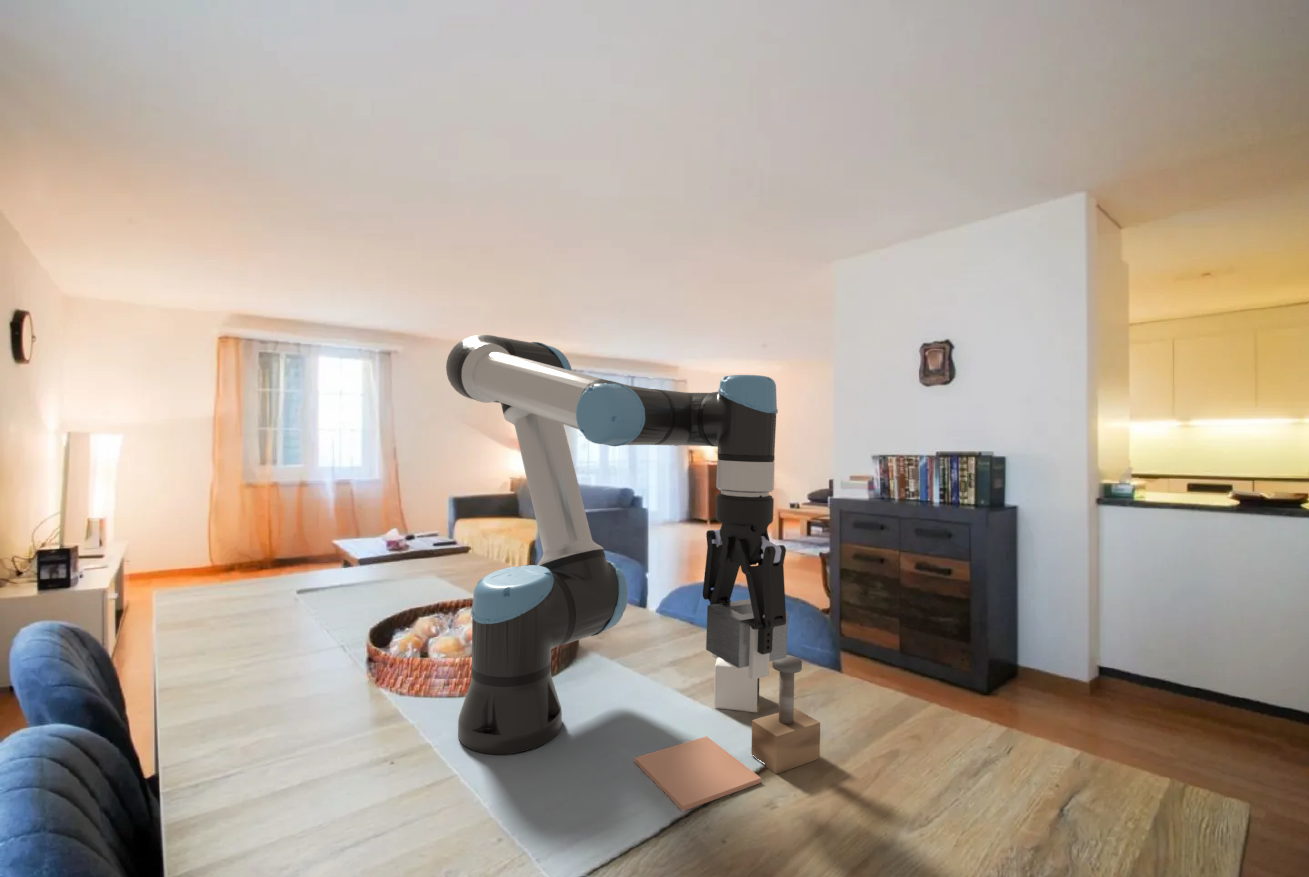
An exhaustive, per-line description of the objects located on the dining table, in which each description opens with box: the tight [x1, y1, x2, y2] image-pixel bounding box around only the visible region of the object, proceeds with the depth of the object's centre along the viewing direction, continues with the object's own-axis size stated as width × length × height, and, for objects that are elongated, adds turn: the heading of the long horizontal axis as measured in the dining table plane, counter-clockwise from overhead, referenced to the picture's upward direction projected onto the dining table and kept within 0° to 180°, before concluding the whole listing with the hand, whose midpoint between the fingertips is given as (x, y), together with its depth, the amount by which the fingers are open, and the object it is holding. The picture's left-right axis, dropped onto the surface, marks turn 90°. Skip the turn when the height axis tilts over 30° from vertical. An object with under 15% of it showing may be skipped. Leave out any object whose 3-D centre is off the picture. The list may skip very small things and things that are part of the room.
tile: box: [634, 735, 762, 812], centre depth 77 cm, size 12×12×1 cm
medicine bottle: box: [713, 657, 760, 713], centre depth 99 cm, size 7×7×12 cm
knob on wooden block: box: [750, 654, 821, 775], centre depth 81 cm, size 5×8×14 cm, turn 120°
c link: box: [705, 598, 789, 668], centre depth 78 cm, size 8×7×6 cm
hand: (739, 665), depth 78 cm, fingers closed on c link, 7 cm apart
